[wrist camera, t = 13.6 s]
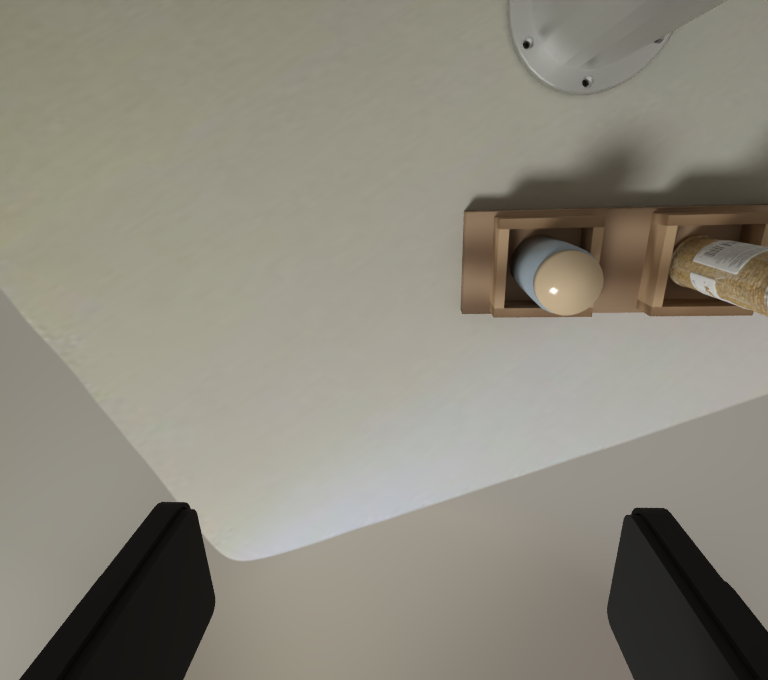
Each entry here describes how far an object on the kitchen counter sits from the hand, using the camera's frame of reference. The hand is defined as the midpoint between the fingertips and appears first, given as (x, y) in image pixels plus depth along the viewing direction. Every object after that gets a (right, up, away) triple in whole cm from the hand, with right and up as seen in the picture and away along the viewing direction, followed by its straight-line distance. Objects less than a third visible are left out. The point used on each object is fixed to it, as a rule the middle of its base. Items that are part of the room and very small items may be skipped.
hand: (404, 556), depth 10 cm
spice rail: (+20, +12, +30) cm, 38 cm away
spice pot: (+13, +11, +29) cm, 34 cm away
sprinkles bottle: (+26, +12, +28) cm, 40 cm away
